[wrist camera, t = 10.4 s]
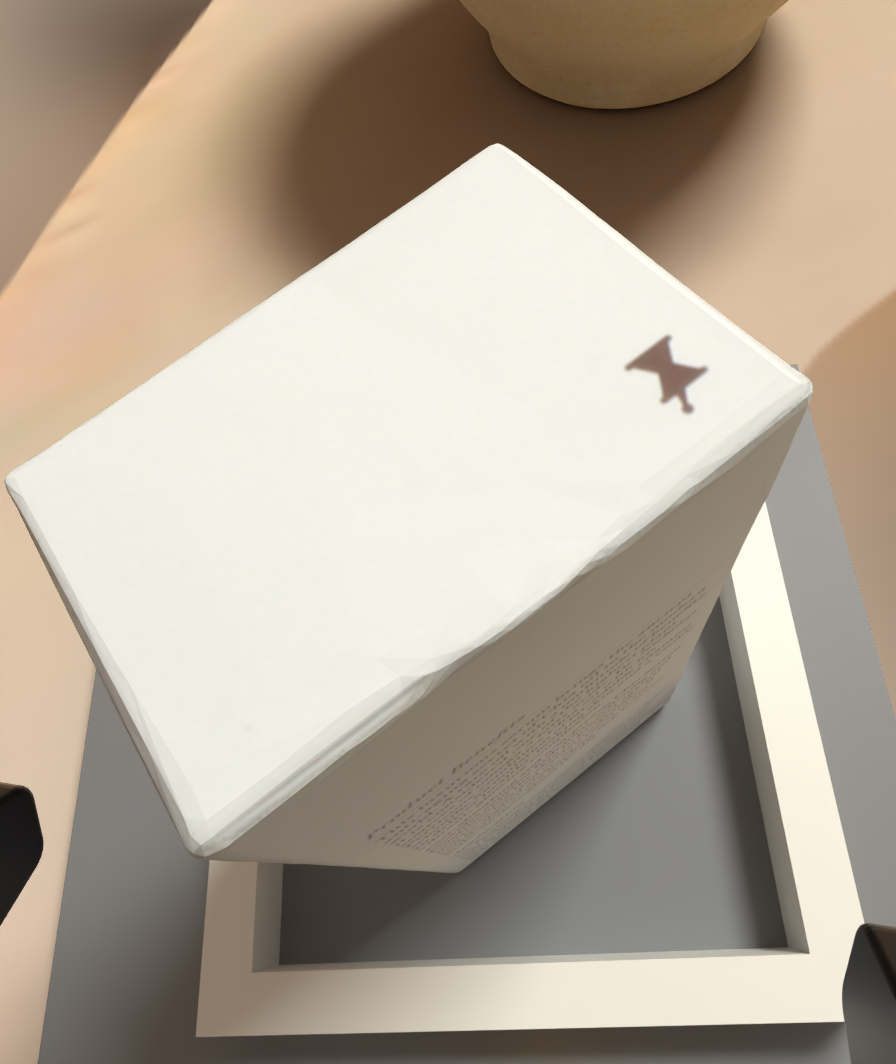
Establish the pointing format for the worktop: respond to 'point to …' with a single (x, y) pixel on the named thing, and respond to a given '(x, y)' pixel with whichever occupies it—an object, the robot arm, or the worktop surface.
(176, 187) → the worktop surface
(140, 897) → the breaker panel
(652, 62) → the planter bowl
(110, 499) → the skincare box
